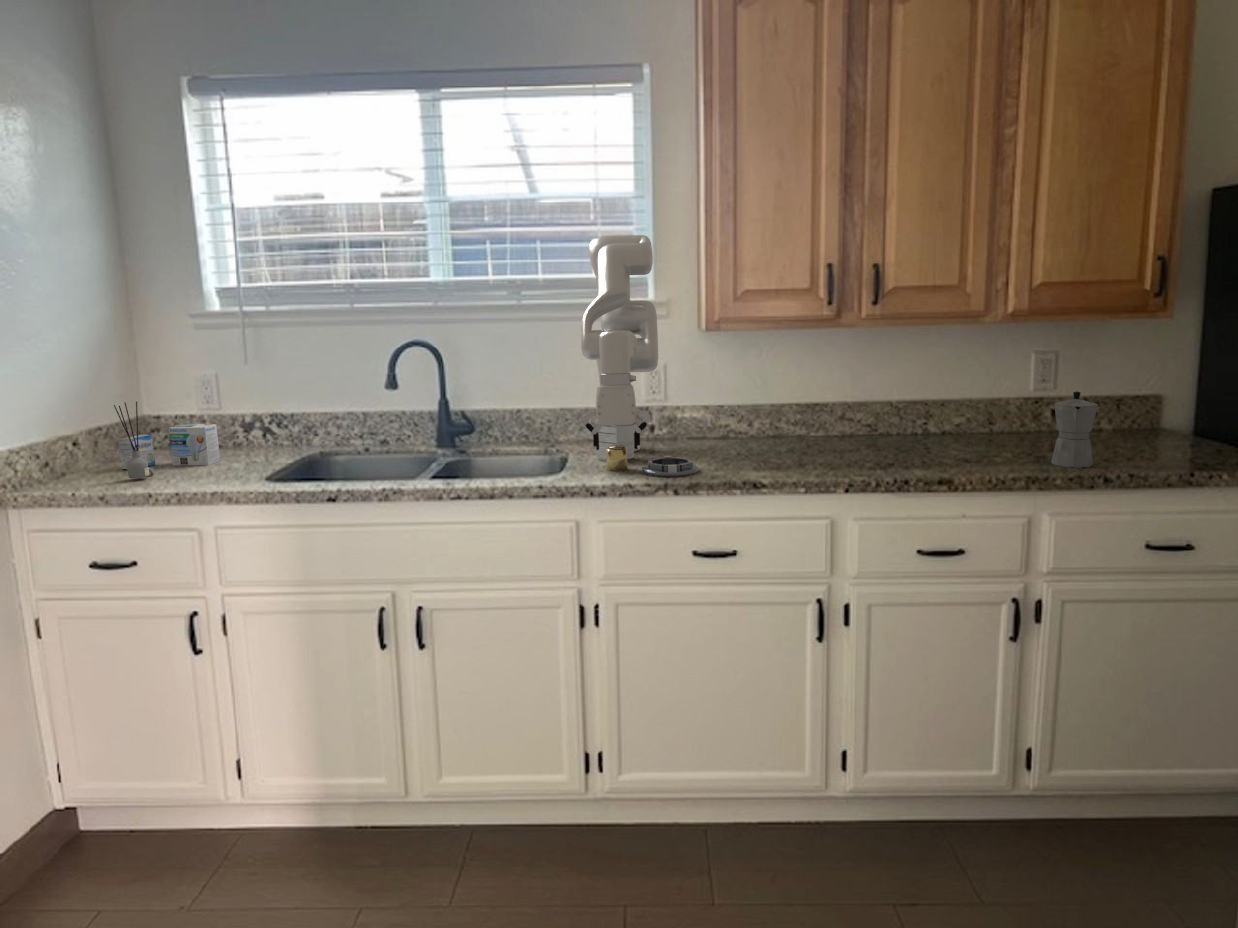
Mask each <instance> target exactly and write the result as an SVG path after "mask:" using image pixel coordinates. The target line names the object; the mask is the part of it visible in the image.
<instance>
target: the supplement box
mask: <svg viewBox="0 0 1238 928" xmlns="http://www.w3.org/2000/svg"><path fill="white" fill-rule="evenodd" d="M595 422H596V421H595ZM596 424H597V422H596ZM634 433H635V430H634V431H633V427H632V426H609V427H603V426H602V427H601V428H600V429H599V431H598V434H599V450H596V452H597V460H598V461H604V460H605V462H607V448H608V446H610V445H615V444H618V445H625V446H626V448H627V461H628V460H630V459H634V458H635V452H634Z"/></svg>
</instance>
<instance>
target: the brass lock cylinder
mask: <svg viewBox="0 0 1238 928" xmlns="http://www.w3.org/2000/svg"><path fill="white" fill-rule="evenodd" d="M628 466H629V465H628V460H627V448H626V446H625V445H618V444H615V445H610V446H608V448H607V461H606V470H607V471H608V472H625V471H628Z"/></svg>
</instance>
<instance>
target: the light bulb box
mask: <svg viewBox="0 0 1238 928" xmlns="http://www.w3.org/2000/svg"><path fill="white" fill-rule="evenodd" d="M168 436H169V443H170V444H169V446H170V455H171V464H172V466H174V467H175V466H177V467H178V466H205V467H206V466H211V465H213V464H216V463H219V462H221V457H220V446H219V436H218V428H217V423H209V424H204V423H203V424H202V423H200V424H199V423H197V424H191V423H190V424H178V425H174V426H172V427H168Z"/></svg>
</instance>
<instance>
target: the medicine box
mask: <svg viewBox="0 0 1238 928" xmlns="http://www.w3.org/2000/svg"><path fill="white" fill-rule="evenodd" d="M134 437H135V441H136V445H137V435H134ZM130 439H131V441H132V443H133V445H134V448H135V450H136V446H135V442H134V438H133V435H132V436H130ZM117 443H118V451H119V457H120V459H119V460H120V465H121V469H127V462H128V461H129V460H130V459H132V451H133V449H132V446H131V442H130V440H129V437H128V436H127V437H122V438H119V439H117ZM138 449H139V450H140V456H141V458H143V459H145V460H146V461H147V462H148V466H150V467H153V466H155V465H156V459H155V450H154V444H153V436H152V434H138ZM152 465H153V466H152Z"/></svg>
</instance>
